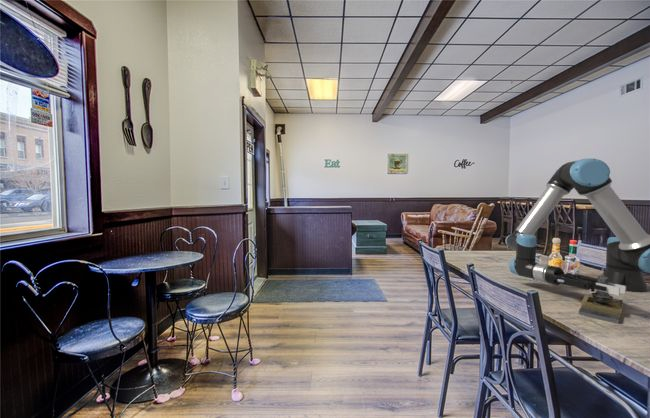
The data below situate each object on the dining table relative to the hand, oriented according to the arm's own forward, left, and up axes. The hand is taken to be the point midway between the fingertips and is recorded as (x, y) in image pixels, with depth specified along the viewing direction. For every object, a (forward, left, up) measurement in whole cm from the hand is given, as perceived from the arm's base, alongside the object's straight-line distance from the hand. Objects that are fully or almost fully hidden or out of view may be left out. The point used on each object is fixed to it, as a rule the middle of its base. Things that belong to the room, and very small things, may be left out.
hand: (622, 290), depth 102 cm
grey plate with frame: (+1, -5, -8) cm, 10 cm away
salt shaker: (+1, -5, -7) cm, 9 cm away
